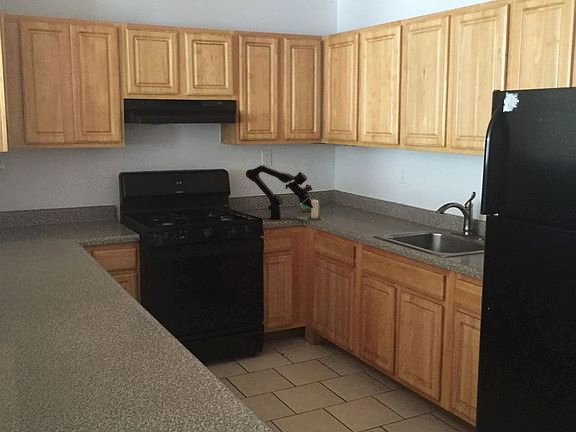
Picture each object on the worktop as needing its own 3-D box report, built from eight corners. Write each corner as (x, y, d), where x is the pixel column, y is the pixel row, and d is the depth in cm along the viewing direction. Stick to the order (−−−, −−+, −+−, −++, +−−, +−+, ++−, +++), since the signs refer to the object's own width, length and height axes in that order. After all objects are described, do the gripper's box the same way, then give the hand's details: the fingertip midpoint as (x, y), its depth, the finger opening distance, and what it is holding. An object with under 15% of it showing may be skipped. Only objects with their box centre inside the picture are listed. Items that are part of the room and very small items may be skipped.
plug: (311, 219, 429) (311, 201, 427) (311, 218, 433) (311, 200, 431) (319, 219, 428) (319, 201, 426) (319, 218, 433) (319, 200, 431)
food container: (296, 213, 461) (296, 198, 459) (299, 211, 467) (299, 197, 465) (313, 214, 457) (314, 199, 456) (316, 212, 463) (316, 198, 462)
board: (306, 222, 423) (306, 219, 422) (296, 218, 438) (296, 215, 437) (326, 221, 428) (326, 218, 427) (315, 217, 443) (315, 214, 443)
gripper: (304, 182, 418) (321, 200, 419) (305, 179, 436) (321, 196, 438) (292, 194, 420) (309, 212, 421) (293, 190, 438) (309, 207, 439)
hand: (312, 206), depth 430 cm, fingers open, 9 cm apart
